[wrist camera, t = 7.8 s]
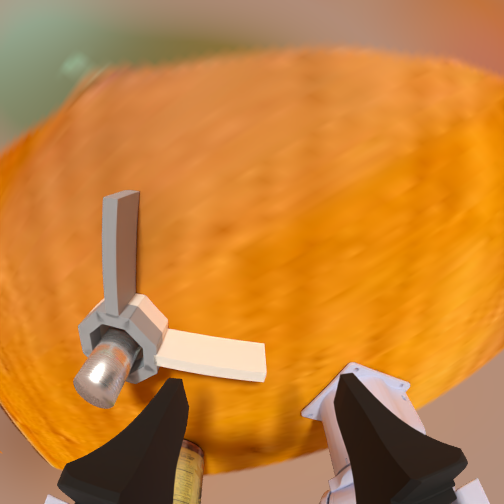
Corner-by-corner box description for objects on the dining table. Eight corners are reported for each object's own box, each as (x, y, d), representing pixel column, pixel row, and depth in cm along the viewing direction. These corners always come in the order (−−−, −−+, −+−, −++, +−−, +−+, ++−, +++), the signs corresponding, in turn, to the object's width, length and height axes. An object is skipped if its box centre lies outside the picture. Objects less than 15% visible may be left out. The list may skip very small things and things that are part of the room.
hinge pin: (152, 321, 21) (117, 391, 14) (143, 346, 22) (111, 414, 14) (120, 305, 21) (74, 367, 13) (113, 330, 21) (72, 393, 14)
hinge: (102, 345, 22) (87, 369, 19) (94, 186, 18) (68, 193, 14) (256, 375, 23) (257, 404, 20) (293, 214, 18) (303, 226, 15)
